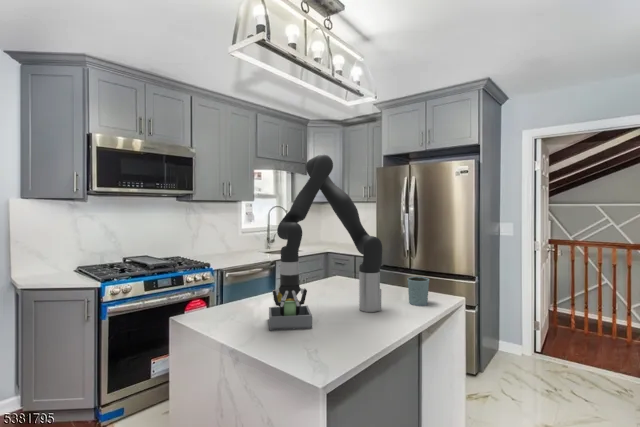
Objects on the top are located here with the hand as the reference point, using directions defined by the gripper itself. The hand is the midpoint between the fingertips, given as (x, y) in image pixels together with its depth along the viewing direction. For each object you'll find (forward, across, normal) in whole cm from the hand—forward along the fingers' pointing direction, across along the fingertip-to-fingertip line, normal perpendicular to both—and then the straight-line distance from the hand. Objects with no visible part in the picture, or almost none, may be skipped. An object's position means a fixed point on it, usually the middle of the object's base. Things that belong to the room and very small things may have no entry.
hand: (289, 315), depth 143 cm
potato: (+4, 0, -20) cm, 20 cm away
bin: (+3, 0, 0) cm, 3 cm away
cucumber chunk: (+1, 0, 0) cm, 1 cm away
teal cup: (+4, -63, -20) cm, 66 cm away
